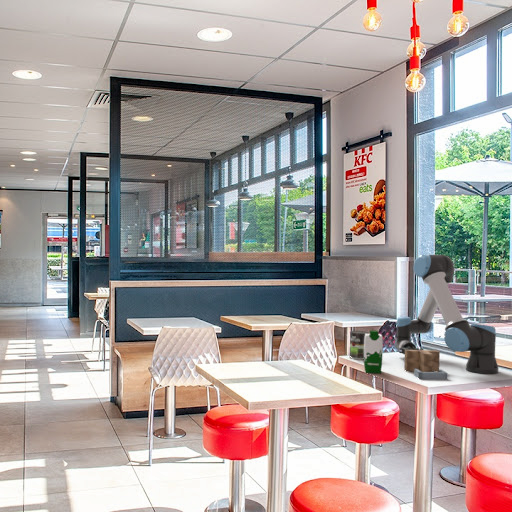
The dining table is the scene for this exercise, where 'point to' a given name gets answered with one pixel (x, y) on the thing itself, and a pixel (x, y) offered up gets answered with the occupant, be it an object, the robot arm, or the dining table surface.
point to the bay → (431, 374)
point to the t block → (422, 360)
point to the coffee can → (357, 344)
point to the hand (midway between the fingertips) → (419, 356)
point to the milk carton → (373, 352)
